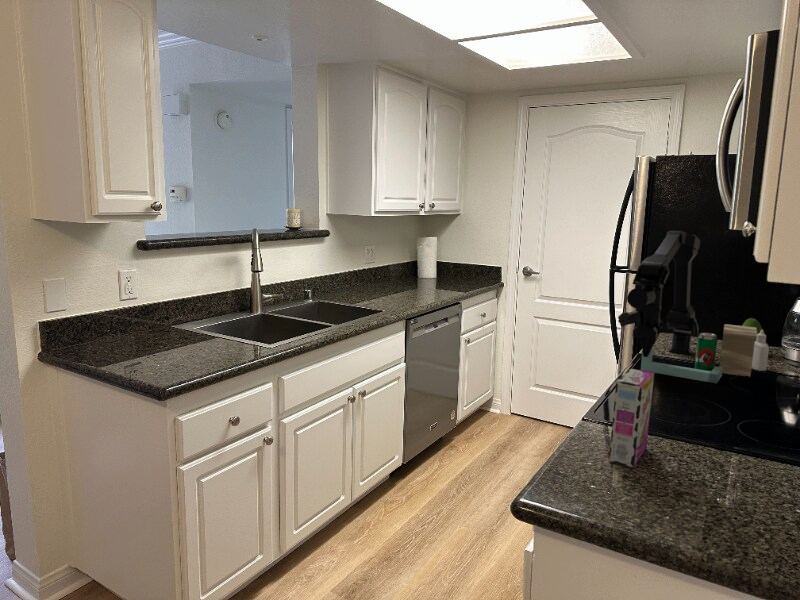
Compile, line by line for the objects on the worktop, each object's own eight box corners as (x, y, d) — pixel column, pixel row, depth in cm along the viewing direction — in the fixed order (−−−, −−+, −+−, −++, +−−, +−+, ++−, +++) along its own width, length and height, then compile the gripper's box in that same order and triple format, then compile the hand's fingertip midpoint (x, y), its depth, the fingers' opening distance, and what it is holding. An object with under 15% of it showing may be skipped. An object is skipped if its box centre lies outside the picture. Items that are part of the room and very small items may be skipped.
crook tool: (648, 363, 181) (650, 338, 179) (721, 375, 169) (724, 349, 168) (640, 370, 174) (642, 344, 172) (716, 383, 162) (719, 355, 160)
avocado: (738, 355, 192) (742, 319, 190) (732, 349, 200) (736, 315, 198) (765, 357, 190) (770, 321, 188) (758, 351, 197) (763, 316, 195)
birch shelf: (719, 371, 173) (724, 324, 171) (750, 376, 169) (756, 327, 167) (718, 378, 166) (723, 329, 164) (750, 383, 162) (757, 332, 160)
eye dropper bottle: (749, 369, 175) (753, 331, 173) (749, 365, 180) (753, 327, 178) (766, 372, 173) (771, 332, 171) (765, 367, 178) (770, 329, 176)
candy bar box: (635, 469, 110) (642, 386, 107) (608, 462, 113) (614, 380, 110) (648, 449, 119) (655, 371, 116) (623, 443, 122) (629, 367, 119)
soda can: (717, 376, 169) (721, 336, 167) (702, 377, 168) (706, 336, 165) (704, 371, 174) (708, 332, 171) (690, 372, 172) (694, 332, 170)
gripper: (626, 297, 183) (622, 345, 185) (615, 306, 167) (612, 359, 169) (665, 300, 177) (661, 350, 180) (658, 310, 161) (653, 364, 164)
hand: (646, 355), depth 173 cm, fingers closed on crook tool, 3 cm apart
